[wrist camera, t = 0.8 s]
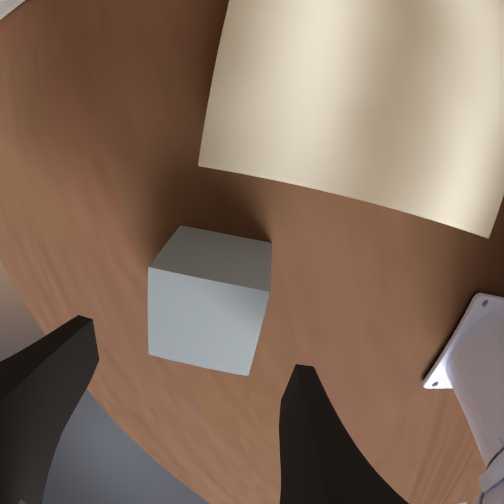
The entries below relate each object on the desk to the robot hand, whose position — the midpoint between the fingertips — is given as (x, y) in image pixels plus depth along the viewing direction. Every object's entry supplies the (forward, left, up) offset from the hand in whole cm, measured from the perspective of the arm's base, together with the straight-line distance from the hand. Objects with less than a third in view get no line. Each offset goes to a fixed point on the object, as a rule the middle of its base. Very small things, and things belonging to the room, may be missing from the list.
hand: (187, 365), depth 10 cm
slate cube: (0, 0, -7) cm, 7 cm away
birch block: (-5, -12, -7) cm, 15 cm away
